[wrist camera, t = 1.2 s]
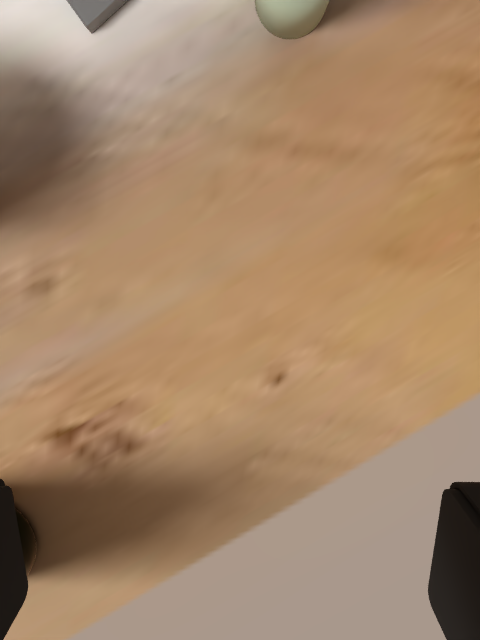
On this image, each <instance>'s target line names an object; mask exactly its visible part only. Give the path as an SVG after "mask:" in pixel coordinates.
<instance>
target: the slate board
mask: <svg viewBox="0 0 480 640" xmlns="http://www.w3.org/2000/svg"><path fill="white" fill-rule="evenodd" d="M67 1H68V3H69V4H70V6H71V7H72V8H73V10H74V11H75V13H76V14H77V15H78V17H79V18H80V19H81V21H82V22H83V24H84V25H85V26H86V28H87V29H88V30H89V31H90V32H91V33H93V32H94V31H95V30H96V29H97V28H98V27H99V26H101V25H102V24H103V23H104V22H105V21H106V20H107V19H108V18H109V17H110V16H111V15H113V14H114V13H115V12H116V11H117V10H118V9H119V8H120V7H121V6H122V5H124V4H125V3H126V2H127V1H128V0H67Z"/></svg>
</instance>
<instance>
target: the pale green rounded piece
mask: <svg viewBox="0 0 480 640" xmlns="http://www.w3.org/2000/svg"><path fill="white" fill-rule="evenodd" d="M329 1H330V0H255V6H256V11H257V14H258V17H259V19H260V21H261V23H262V24H263V25H264V27H265V28H266V29H267V30H268V31H269V32H270V33H272V34H273V35H275V36H277V37H279V38H283V39H297V38H300V37H303V36H305V35H307V34H308V33H310V32H311V31H312V30H313V29H314V28H315V27H316V26H317V25H318V24H319V22H320V21H321V19H322V17H323V15H324V13H325V10H326V8H327V6H328V3H329Z"/></svg>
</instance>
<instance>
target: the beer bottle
mask: <svg viewBox="0 0 480 640" xmlns="http://www.w3.org/2000/svg"><path fill="white" fill-rule="evenodd" d="M15 511H16V517H17V523H18V528H19V534H20V540H21V545H22V551H23V557H24V563H25V568H26V574H27V576H28V574H29V572H30V570H31V568H32V566H33V564H34V562H35V557H36V539H35V535H34V532H33V530H32V528H31V526H30V524H29V522H28V521H27V520H26V518H25V517H24V516H23V515H22V514H21V513H20V512H19V511H18V510H17V509H16V508H15Z"/></svg>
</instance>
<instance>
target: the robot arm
mask: <svg viewBox="0 0 480 640" xmlns="http://www.w3.org/2000/svg"><path fill="white" fill-rule="evenodd" d="M27 591H28V580H27V574H26V568H25V563H24V557H23V551H22V545H21V540H20V534H19V528H18V523H17V517H16V511H15V506H14V500H13V494H12V490H11V488H10V487H9V486H5V483H4V481H3V480H2V479H0V640H3V639H4V637H5V635H6V634H7V632H8V630H9V628H10V626H11V625H12V623H13V621H14V619H15V617H16V616H17V614H18V612H19V610H20V609H21V607H22V605H23V603H24V601H25V598H26V595H27ZM428 595H429V600H430V603H431V606H432V609H433V611H434V613H435V615H436V618H437V620H438V622H439V624H440V626H441V628H442V631H443V633H444V635H445V637H446V639H447V640H480V482H454V483H452V485H451V486H450V489H446V490H444V492H443V494H442V500H441V507H440V514H439V520H438V526H437V533H436V539H435V546H434V552H433V559H432V566H431V572H430V579H429V585H428Z"/></svg>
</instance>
